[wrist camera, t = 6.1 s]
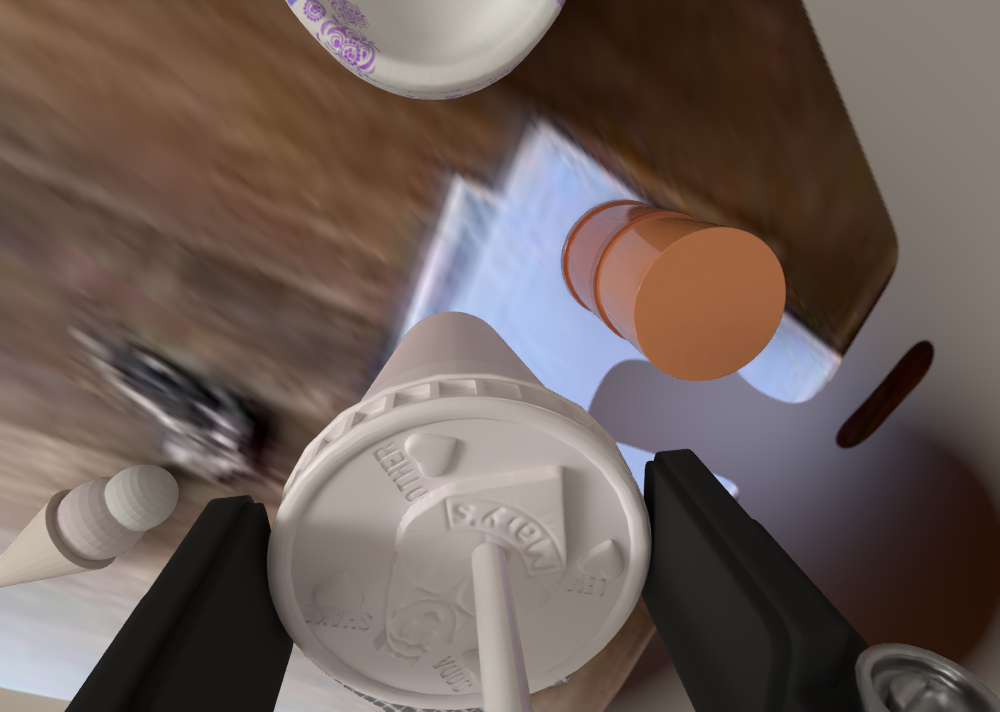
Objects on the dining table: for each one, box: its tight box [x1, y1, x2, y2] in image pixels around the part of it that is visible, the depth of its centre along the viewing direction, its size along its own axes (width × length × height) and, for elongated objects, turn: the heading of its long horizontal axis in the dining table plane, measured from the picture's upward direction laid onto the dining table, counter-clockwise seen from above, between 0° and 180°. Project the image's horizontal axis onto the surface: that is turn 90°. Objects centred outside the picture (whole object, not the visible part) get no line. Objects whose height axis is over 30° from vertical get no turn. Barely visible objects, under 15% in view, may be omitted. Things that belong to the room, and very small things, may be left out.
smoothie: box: [267, 312, 651, 712], centre depth 11 cm, size 6×6×14 cm
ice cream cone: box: [0, 464, 179, 587], centre depth 37 cm, size 6×6×15 cm
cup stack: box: [561, 199, 786, 381], centre depth 32 cm, size 8×8×14 cm
